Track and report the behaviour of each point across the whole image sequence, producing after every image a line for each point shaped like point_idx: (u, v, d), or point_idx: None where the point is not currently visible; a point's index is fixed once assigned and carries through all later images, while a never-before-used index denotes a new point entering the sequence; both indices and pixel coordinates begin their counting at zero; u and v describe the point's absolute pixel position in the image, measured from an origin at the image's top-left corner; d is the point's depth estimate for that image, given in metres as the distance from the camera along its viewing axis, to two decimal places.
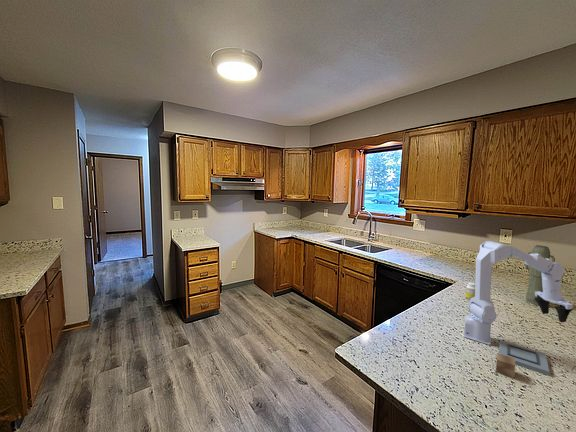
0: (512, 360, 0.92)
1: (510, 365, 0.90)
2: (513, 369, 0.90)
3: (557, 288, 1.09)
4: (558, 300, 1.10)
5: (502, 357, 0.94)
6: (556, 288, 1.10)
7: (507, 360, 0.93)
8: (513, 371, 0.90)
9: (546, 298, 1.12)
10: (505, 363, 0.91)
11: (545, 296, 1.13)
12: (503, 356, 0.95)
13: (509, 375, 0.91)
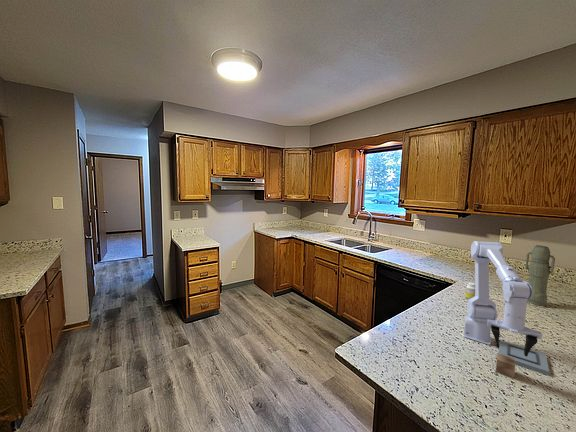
0: (512, 360, 0.92)
1: (510, 365, 0.90)
2: (513, 369, 0.90)
3: (504, 310, 0.92)
4: (502, 323, 0.93)
5: (502, 357, 0.94)
6: (504, 310, 0.92)
7: (507, 360, 0.93)
8: (513, 371, 0.90)
9: None
10: (505, 363, 0.91)
11: None
12: (503, 356, 0.95)
13: (509, 375, 0.91)
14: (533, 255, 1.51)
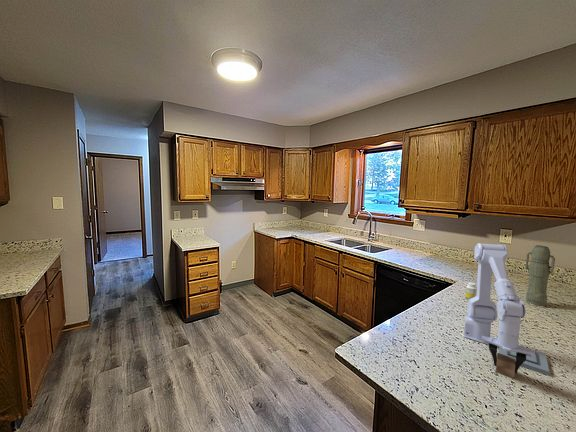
0: (512, 360, 0.92)
1: (510, 364, 0.90)
2: (513, 369, 0.90)
3: (498, 328, 0.93)
4: (496, 340, 0.95)
5: (502, 357, 0.94)
6: (498, 327, 0.94)
7: (507, 359, 0.93)
8: (513, 371, 0.90)
9: None
10: (505, 363, 0.91)
11: None
12: (503, 356, 0.95)
13: (509, 375, 0.91)
14: (533, 255, 1.51)
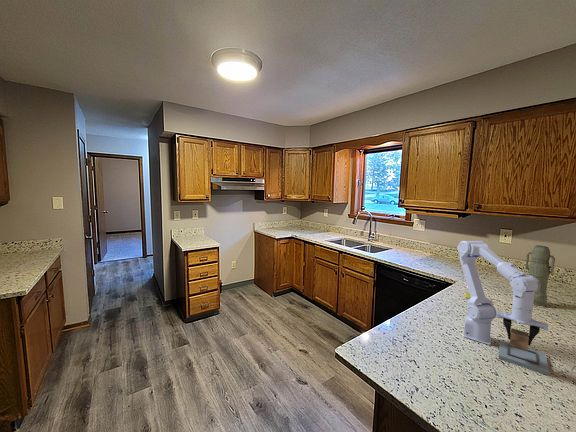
0: (525, 334, 0.97)
1: (523, 338, 0.95)
2: (527, 342, 0.95)
3: (515, 305, 0.97)
4: (511, 315, 1.00)
5: (516, 331, 0.99)
6: (514, 304, 0.97)
7: (521, 333, 0.97)
8: (527, 343, 0.95)
9: None
10: (519, 337, 0.96)
11: None
12: (517, 330, 0.99)
13: (523, 347, 0.96)
14: (533, 255, 1.51)
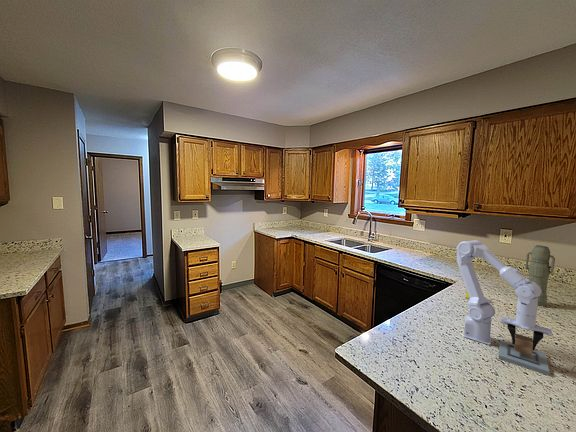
0: (529, 339, 1.00)
1: (528, 343, 0.98)
2: (531, 347, 0.97)
3: (522, 312, 0.99)
4: (515, 321, 1.02)
5: (520, 337, 1.01)
6: (520, 311, 0.99)
7: (525, 339, 1.00)
8: (531, 349, 0.97)
9: None
10: (523, 342, 0.99)
11: None
12: (521, 336, 1.02)
13: (527, 353, 0.98)
14: (533, 255, 1.51)
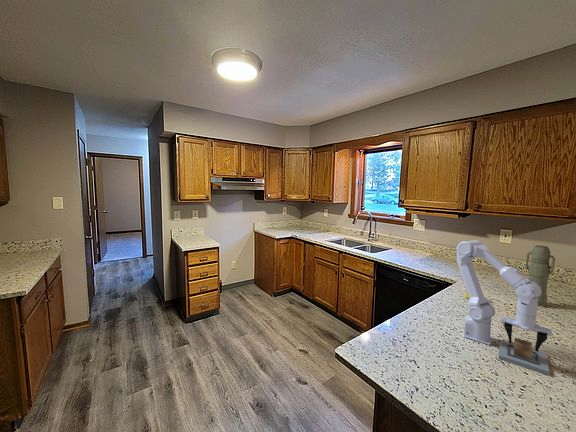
0: (529, 344, 1.00)
1: (527, 347, 0.98)
2: (530, 351, 0.98)
3: (522, 312, 0.99)
4: (515, 321, 1.02)
5: (519, 341, 1.02)
6: (520, 311, 0.99)
7: (524, 343, 1.00)
8: (530, 353, 0.98)
9: None
10: (522, 346, 0.99)
11: None
12: (520, 340, 1.02)
13: (527, 357, 0.98)
14: (533, 255, 1.51)
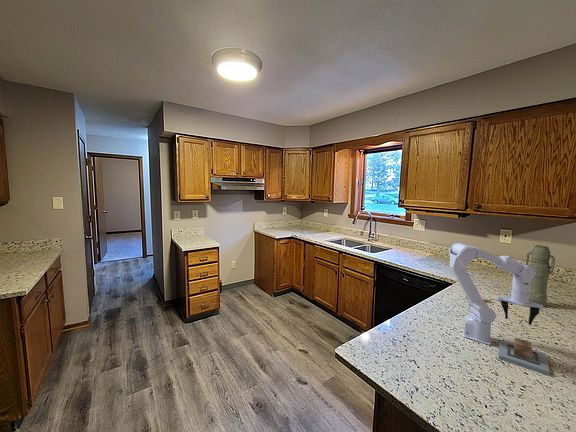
0: (529, 344, 1.00)
1: (527, 347, 0.98)
2: (530, 351, 0.98)
3: (525, 291, 1.08)
4: (510, 298, 1.13)
5: (519, 341, 1.02)
6: (524, 291, 1.08)
7: (524, 343, 1.00)
8: (530, 353, 0.98)
9: None
10: (522, 346, 0.99)
11: None
12: (520, 340, 1.02)
13: (527, 357, 0.98)
14: (533, 255, 1.51)
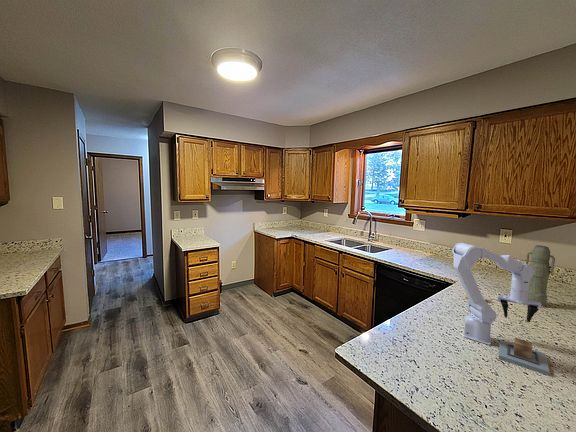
0: (529, 344, 1.00)
1: (527, 347, 0.98)
2: (530, 351, 0.98)
3: (524, 289, 1.10)
4: (509, 297, 1.15)
5: (519, 341, 1.02)
6: (523, 289, 1.10)
7: (524, 343, 1.00)
8: (530, 353, 0.98)
9: None
10: (522, 346, 0.99)
11: None
12: (520, 340, 1.02)
13: (527, 357, 0.98)
14: (533, 255, 1.51)
